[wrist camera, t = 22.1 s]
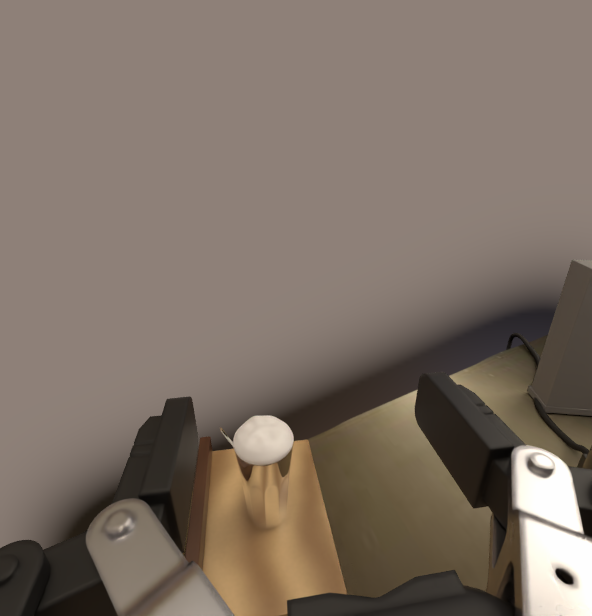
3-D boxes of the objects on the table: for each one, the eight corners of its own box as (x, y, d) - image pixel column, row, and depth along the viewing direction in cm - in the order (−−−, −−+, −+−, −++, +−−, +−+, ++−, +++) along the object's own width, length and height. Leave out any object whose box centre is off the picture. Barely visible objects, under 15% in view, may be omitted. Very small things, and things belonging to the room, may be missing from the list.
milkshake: (227, 499, 31) (216, 408, 27) (285, 482, 32) (283, 394, 28) (236, 549, 27) (224, 451, 23) (301, 527, 28) (301, 432, 24)
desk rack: (307, 515, 42) (308, 424, 36) (341, 687, 28) (350, 584, 23) (214, 529, 40) (200, 437, 35) (203, 718, 27) (176, 616, 21)
